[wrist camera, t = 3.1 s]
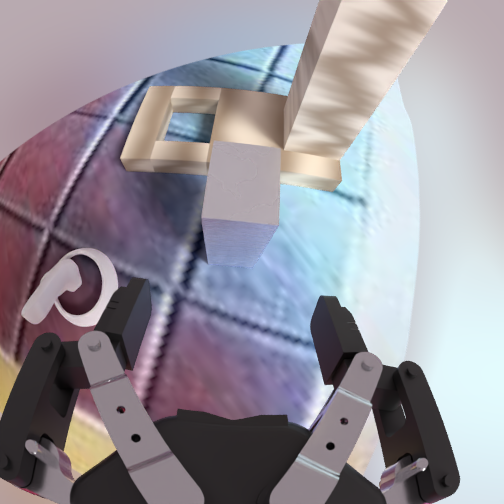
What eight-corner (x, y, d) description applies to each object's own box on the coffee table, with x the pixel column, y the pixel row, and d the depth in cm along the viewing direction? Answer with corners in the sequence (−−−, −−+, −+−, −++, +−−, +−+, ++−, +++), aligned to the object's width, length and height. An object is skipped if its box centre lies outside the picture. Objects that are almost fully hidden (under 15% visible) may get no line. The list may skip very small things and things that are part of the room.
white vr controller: (70, 397, 15) (-1, 341, 12) (89, 316, 26) (45, 273, 22) (123, 350, 15) (40, 277, 12) (132, 274, 26) (85, 225, 23)
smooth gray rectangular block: (208, 264, 24) (201, 217, 14) (214, 212, 26) (213, 140, 15) (252, 268, 25) (278, 225, 14) (256, 217, 26) (280, 148, 15)
